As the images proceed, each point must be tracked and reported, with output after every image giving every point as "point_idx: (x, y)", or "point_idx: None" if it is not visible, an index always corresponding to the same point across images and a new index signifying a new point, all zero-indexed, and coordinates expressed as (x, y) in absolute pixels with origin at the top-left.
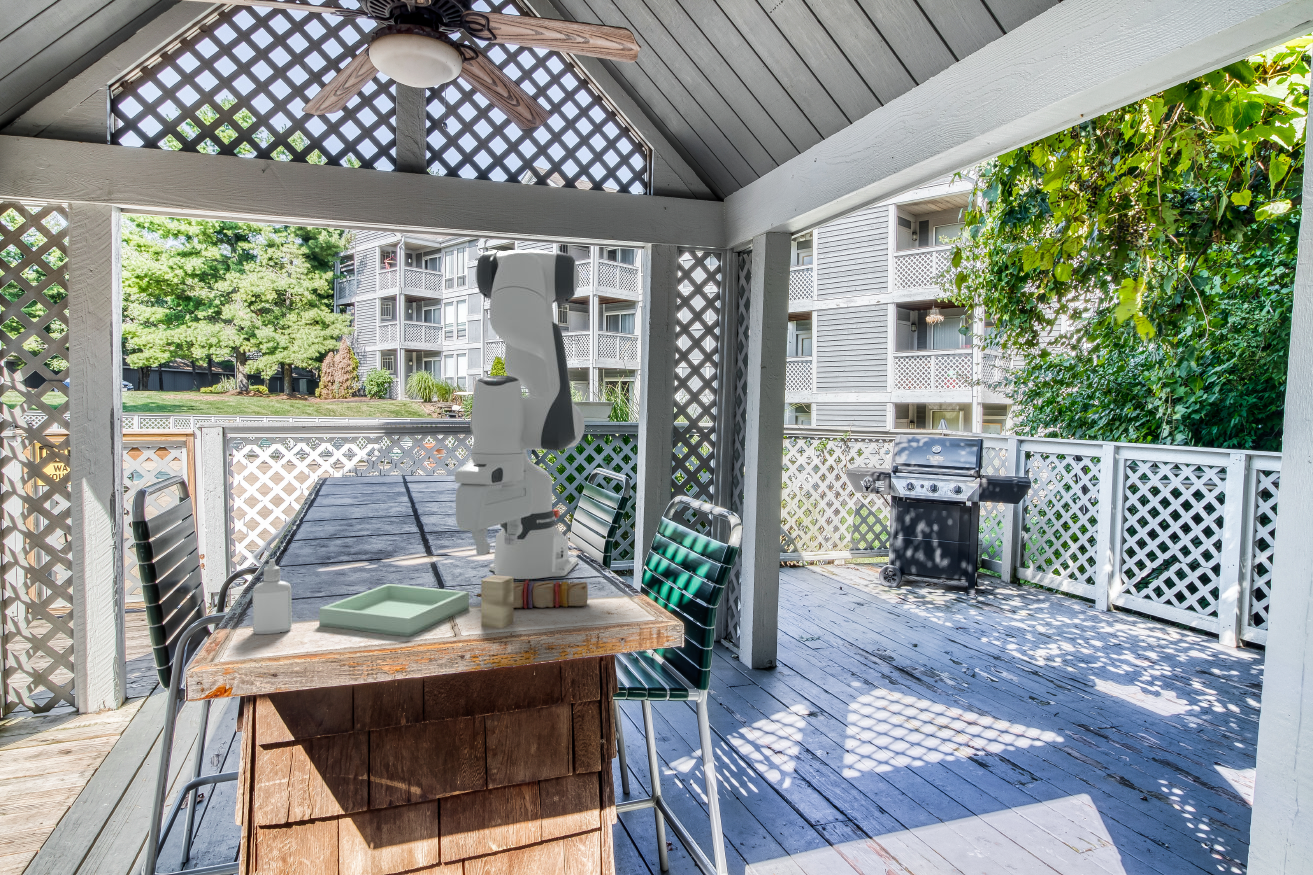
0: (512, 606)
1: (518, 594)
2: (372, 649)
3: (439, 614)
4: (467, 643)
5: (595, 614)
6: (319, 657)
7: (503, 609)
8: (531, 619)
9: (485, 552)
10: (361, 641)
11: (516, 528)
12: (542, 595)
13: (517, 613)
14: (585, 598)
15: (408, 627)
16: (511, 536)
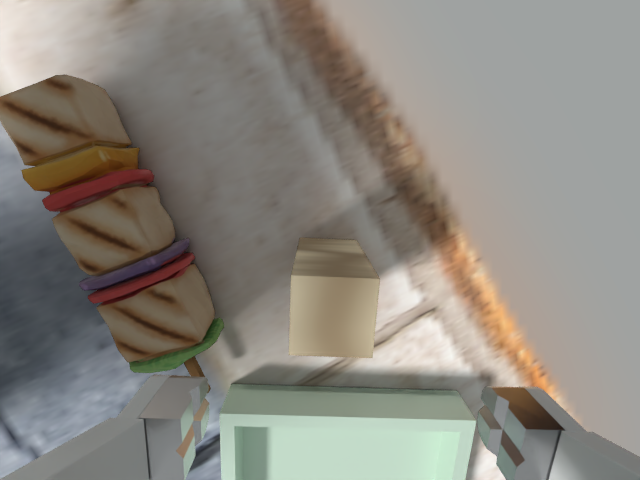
0: (302, 247)
1: (184, 285)
2: None
3: (352, 399)
4: (474, 261)
5: (159, 41)
6: None
7: (353, 251)
8: (267, 202)
9: (544, 392)
10: None
11: (88, 463)
12: (153, 219)
13: (232, 258)
14: (94, 87)
15: (466, 405)
16: (187, 424)
